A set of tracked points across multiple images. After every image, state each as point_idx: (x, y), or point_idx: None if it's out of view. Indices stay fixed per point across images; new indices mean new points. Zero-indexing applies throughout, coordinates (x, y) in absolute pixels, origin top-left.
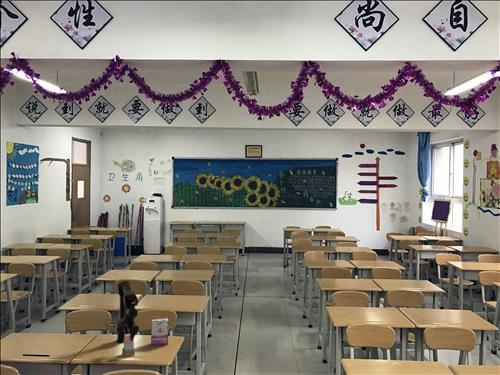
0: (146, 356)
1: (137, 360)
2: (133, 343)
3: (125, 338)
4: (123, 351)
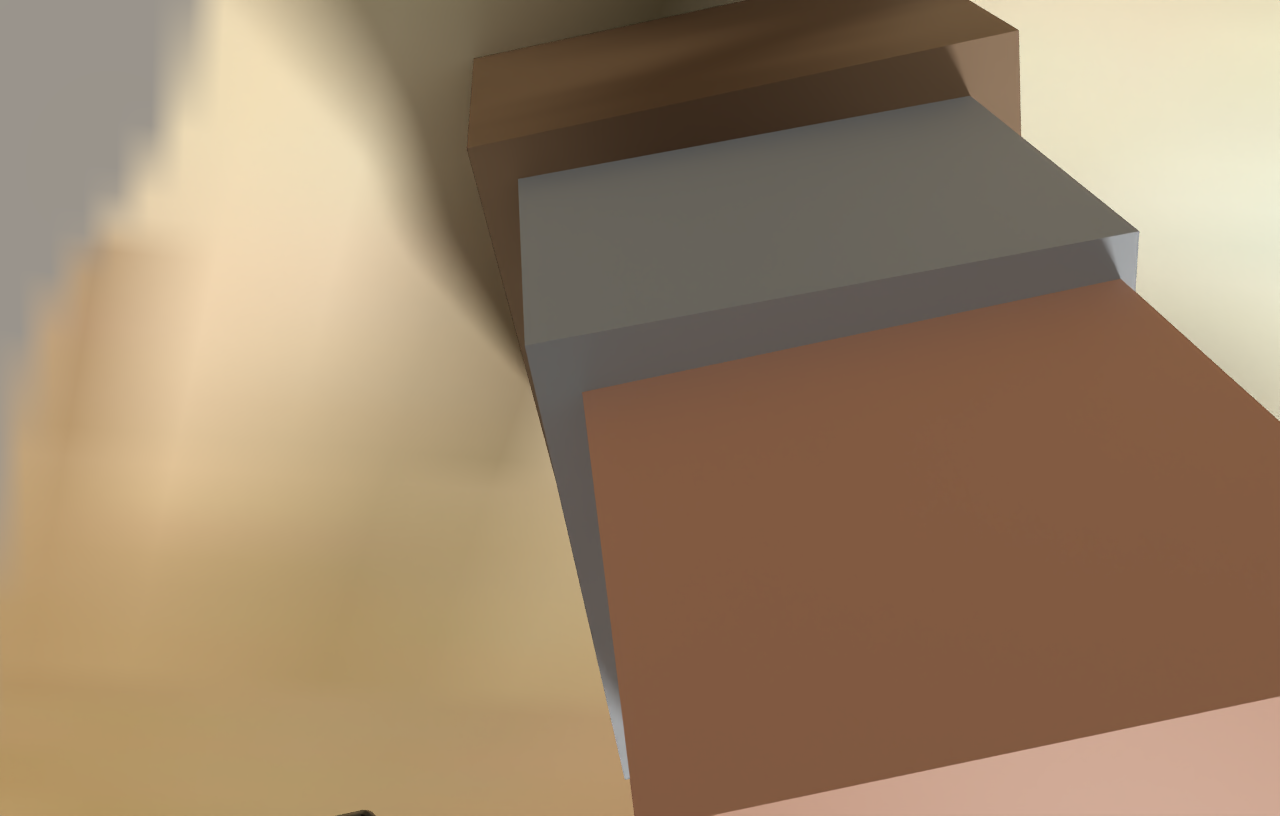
0: (353, 748)
1: (9, 478)
2: (619, 735)
3: (976, 520)
4: (757, 50)
